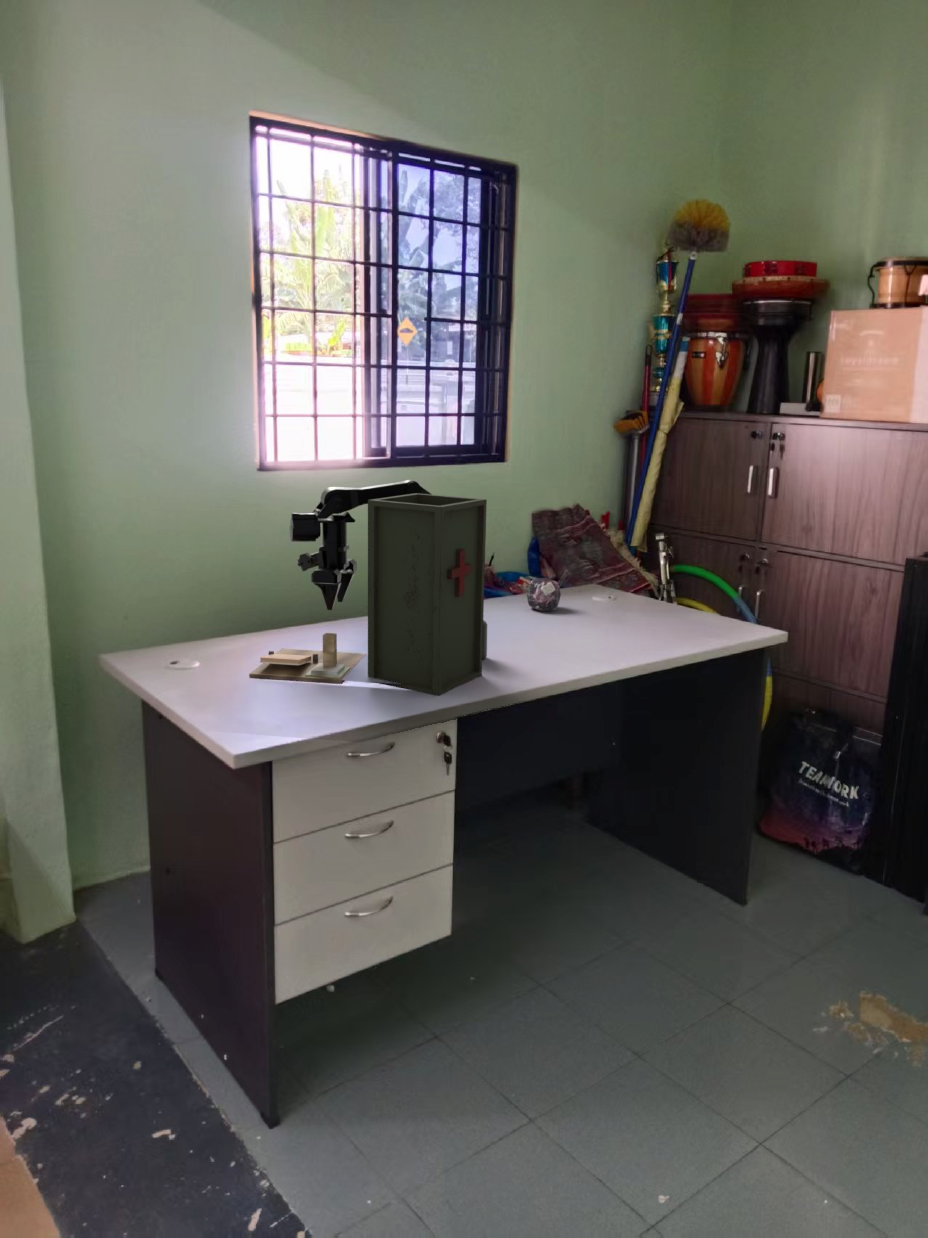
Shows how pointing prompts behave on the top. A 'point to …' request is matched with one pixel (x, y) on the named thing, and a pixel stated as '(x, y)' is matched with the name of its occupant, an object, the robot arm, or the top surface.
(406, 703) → the top surface
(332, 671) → the stamp
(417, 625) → the first aid box
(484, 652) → the supplement bottle
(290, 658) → the tile
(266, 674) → the board
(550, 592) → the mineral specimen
